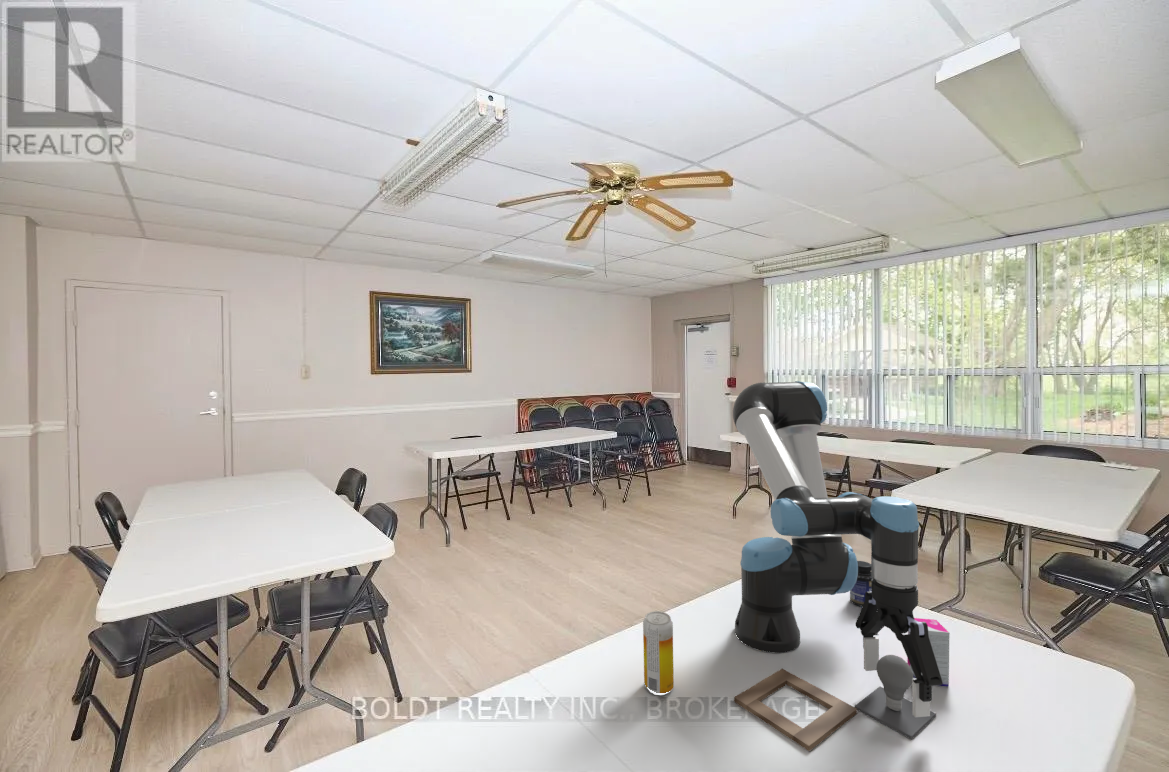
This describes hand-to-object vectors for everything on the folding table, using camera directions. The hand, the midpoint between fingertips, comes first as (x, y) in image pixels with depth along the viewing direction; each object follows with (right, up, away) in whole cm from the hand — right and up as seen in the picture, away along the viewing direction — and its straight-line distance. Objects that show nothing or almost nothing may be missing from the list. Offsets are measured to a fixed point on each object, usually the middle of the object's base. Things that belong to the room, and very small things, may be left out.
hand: (894, 691), depth 95 cm
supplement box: (+14, -4, +11) cm, 18 cm away
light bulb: (0, -4, 0) cm, 4 cm away
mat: (0, -4, 0) cm, 4 cm away
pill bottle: (+18, -3, +44) cm, 48 cm away
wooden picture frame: (-18, -5, +2) cm, 19 cm away
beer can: (-44, -5, +9) cm, 45 cm away
